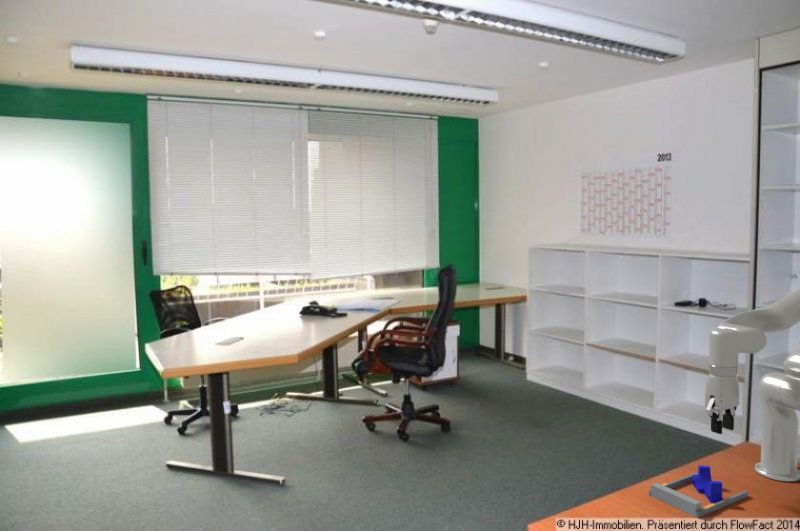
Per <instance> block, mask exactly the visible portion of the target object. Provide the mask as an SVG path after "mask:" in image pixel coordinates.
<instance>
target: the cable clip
mask: <svg viewBox="0 0 800 531" xmlns="http://www.w3.org/2000/svg"><path fill="white" fill-rule="evenodd" d="M697 472H698V475H693V479H692V481H691V483H692V486H693V487H694V488H695V490H696V492H697V491H698V492H697V493H698V494H704V496H705V497H706V498H707V500H708V502H709V504H712V503H713V504H715V503H717V502H719V501H722V500H723V482H722V481H718V480H712V474H711V467H710V466H709V465H697Z"/></svg>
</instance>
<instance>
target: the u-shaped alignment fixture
mask: <svg viewBox="0 0 800 531" xmlns="http://www.w3.org/2000/svg"><path fill="white" fill-rule="evenodd" d="M693 475H698V471H697V472H694V473H692V474H689V475H686V476H683V477H680V478H679V479H676V480H674V481H671V482H667V483H665V482H664V483H663V484H661V483H658V482H655V483H653V484H651V486H650V487H651V488H650V489H648V496H650V497H651V498H653V499H656V500H658V501H661V502H662V503H665V504H667V505H669V506H671V507H673V508H675V509H678V510H680V511H682V512H684V513H686V514H688V515H691V516H692V517H695V518H697V519H699V518H701V517H704V516H706V515H709V514H711V513H714V512H715V511H718V510H720V509H722V508H724V507H727V506H729V505H732V504H735V503H737V502H739V501H741V500H743V499H745V498H749V491H748V490H746V489H745V490H743V491H741V492H738V493H736V494H734V495H730V496H729V497H727V498H724V499H722V501H719V502H717V503H709V504H707V505H704V506H703V507H702V501H699V500H697V499H696V498H693V497H691V496H688V495H686V494H684V493H681V492H679V491H677V490H674V488H677V487H679V486H682V485H685V484H687V482H688V483H689V481H690V482H692V479H693Z"/></svg>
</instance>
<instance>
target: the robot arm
mask: <svg viewBox="0 0 800 531" xmlns="http://www.w3.org/2000/svg"><path fill="white" fill-rule="evenodd" d="M799 323H800V289H796V290H793V292H792V291H791V292H790V293H788V294H787V295H784V297H781V298H780V299H778V300H777V301H775V302H774V303H772V304H770V305H768V306H764V307H758V308H754V309H752V310H747V311H743V312H739V313H736V314H734V315H732V316H730V317H729V318H726V319H725V320H724V321H722V322H721V323H719V324H718V326H717V327H716V328H712V329H711V330H710V331H709V347H708V348H709V351H708V354H709V356H708V374H709V375H707V380H706V385H705V393H704V407H705V413H706V414H708V416H709V419H710V432H712V433H715V434H718V435H723V428H724V429H727V430H729V431H734V430H735V417H736V410H737V407H738V406H739V405H740V401H739V400H740V386H739V385H740V384H739V378H738V377H739V354H740V353H741V354H742V353H743V354H755V353H759V352H762V350H764V349H765V348H766V346H767V343H768V338H767V335H766V334H765V333H779V332H785V331H788V330H790V329H791V328H793V327H794V326H796V325H797V324H799ZM782 369H783V372H784V373H782V372H775V371H772V372H768V373H765V374H763V376H761V377H760V380H759V383H758V392H759V397H760V402H761V403H760V404H761V435H760V436H761V439H760V440H761V443H760V444H761V446H760V461H759V462H757V463H755V465H754V470H755V471H756V472H757V473H758V474H760V476H762V477H765V478H767V479H771V480H776V481H780V482H798V481H800V469H799V468H798V464H799V463H800V455H798V447H799V446H798V445H799V441H798V440H799V418H798V415H797V412H796V411H798V412H800V341H799V343H798V344H796V346H795V347H794V348H793V349H792V350H791V352H790V353H789V354H788V355H787V357H786V358H785V359H784V361H783V364H782ZM716 412H717V413H716ZM723 413H724V414H723Z"/></svg>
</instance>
